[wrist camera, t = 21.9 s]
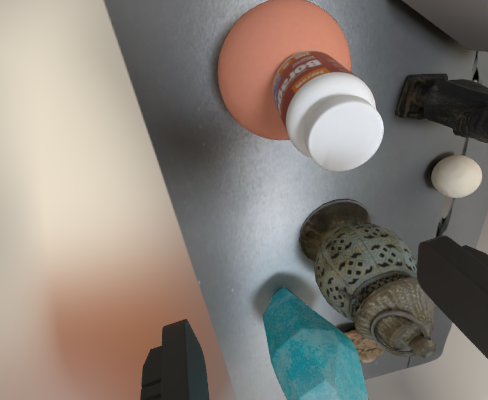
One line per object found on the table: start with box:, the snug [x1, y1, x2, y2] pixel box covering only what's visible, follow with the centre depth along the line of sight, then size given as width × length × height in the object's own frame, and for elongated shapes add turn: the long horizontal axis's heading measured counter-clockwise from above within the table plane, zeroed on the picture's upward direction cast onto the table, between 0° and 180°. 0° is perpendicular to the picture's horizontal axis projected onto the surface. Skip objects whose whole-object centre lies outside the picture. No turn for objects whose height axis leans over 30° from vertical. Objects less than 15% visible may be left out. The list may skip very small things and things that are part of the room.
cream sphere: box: [431, 155, 482, 198], centre depth 53 cm, size 7×7×7 cm
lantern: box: [299, 199, 436, 358], centre depth 47 cm, size 14×14×25 cm
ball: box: [218, 0, 351, 140], centre depth 35 cm, size 14×14×15 cm
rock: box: [344, 330, 387, 363], centre depth 71 cm, size 13×11×5 cm
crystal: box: [263, 286, 369, 400], centre depth 49 cm, size 12×14×30 cm
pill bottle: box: [273, 50, 384, 171], centre depth 24 cm, size 6×6×11 cm
